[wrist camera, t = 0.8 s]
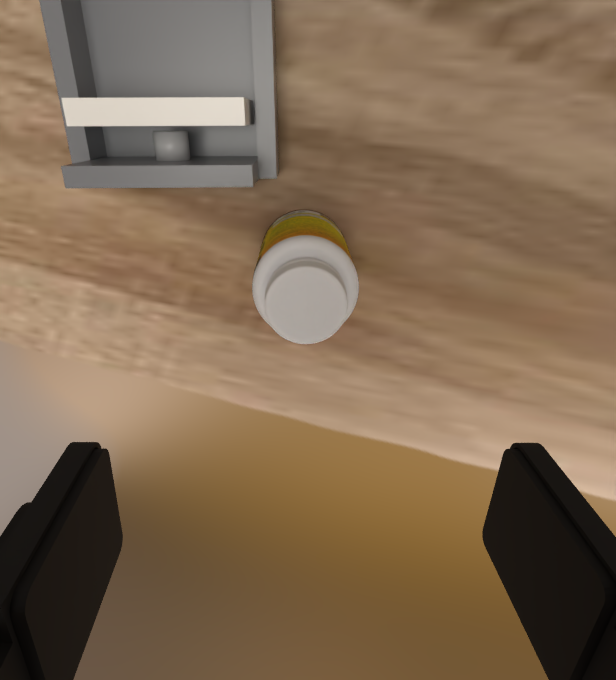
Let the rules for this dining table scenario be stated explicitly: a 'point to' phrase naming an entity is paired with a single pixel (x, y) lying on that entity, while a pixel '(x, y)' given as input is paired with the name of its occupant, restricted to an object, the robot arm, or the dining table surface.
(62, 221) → the dining table surface
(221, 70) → the pusher lane
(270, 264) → the supplement bottle
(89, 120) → the pusher paddle
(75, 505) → the robot arm
